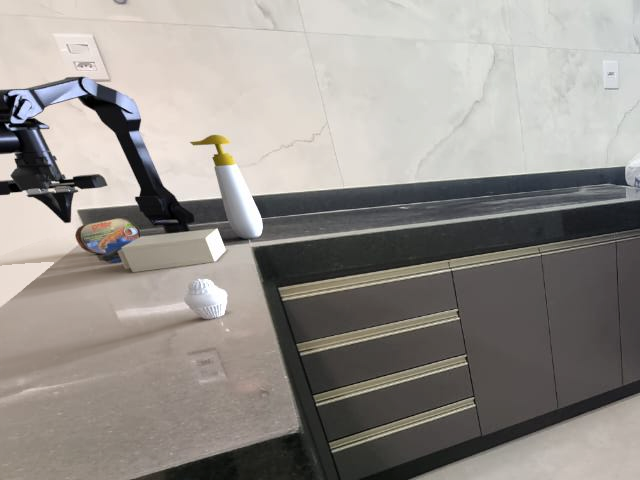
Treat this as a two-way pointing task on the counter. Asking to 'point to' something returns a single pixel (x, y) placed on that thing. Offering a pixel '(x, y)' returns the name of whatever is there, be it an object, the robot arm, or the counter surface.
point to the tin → (105, 234)
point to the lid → (117, 246)
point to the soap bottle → (234, 192)
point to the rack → (117, 254)
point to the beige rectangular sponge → (174, 250)
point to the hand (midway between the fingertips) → (67, 222)
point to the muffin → (206, 299)
